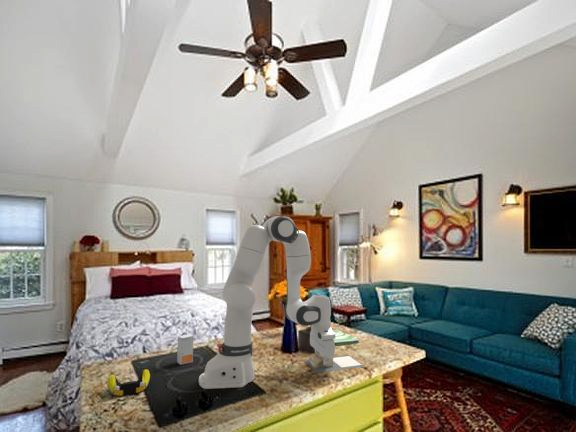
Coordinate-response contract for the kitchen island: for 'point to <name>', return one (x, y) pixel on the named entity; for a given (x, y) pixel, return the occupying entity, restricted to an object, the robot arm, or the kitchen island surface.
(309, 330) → the manual coffee grinder
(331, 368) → the mat
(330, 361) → the tan rectangular block
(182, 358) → the skincare box
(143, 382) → the gaming controller
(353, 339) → the dish towel
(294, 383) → the kitchen island surface
